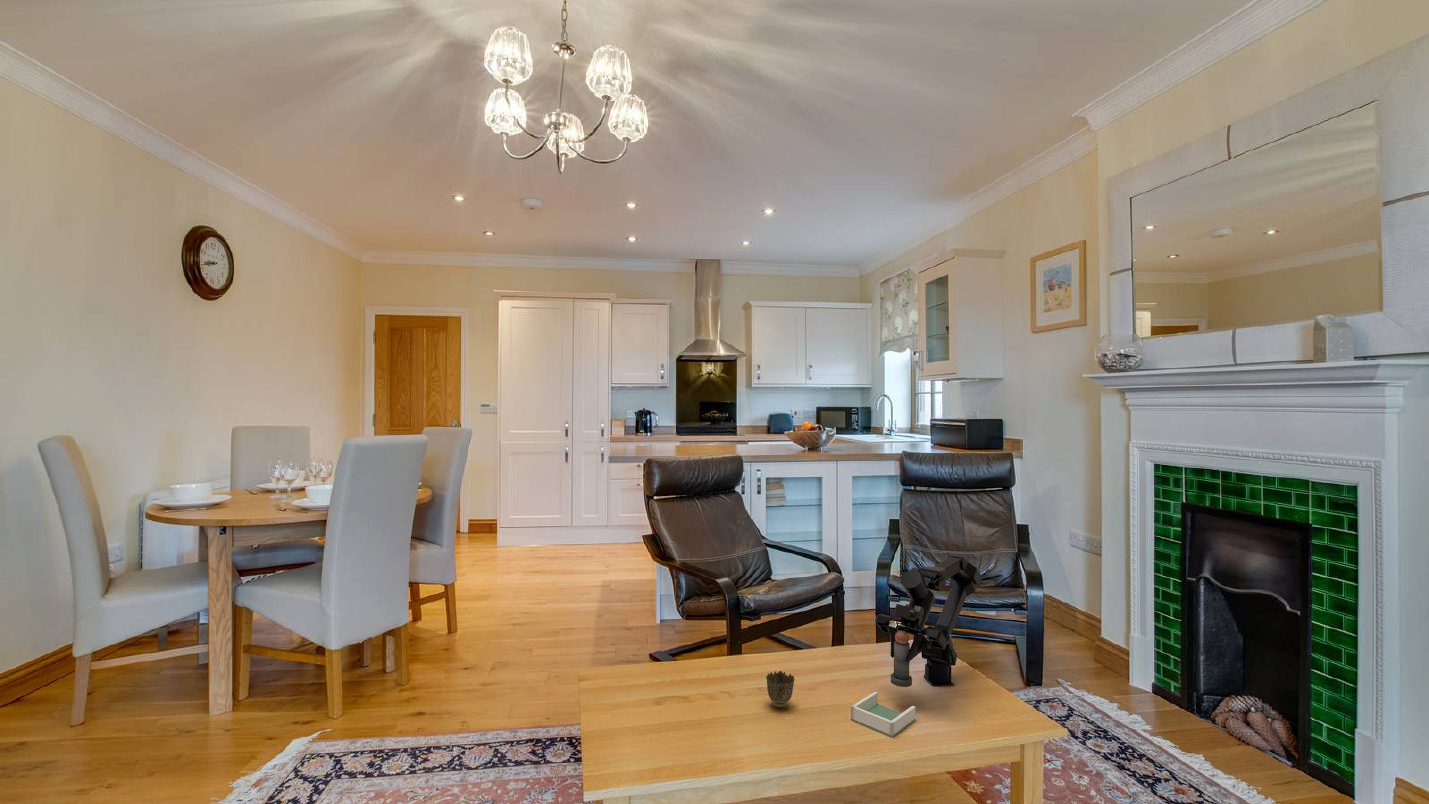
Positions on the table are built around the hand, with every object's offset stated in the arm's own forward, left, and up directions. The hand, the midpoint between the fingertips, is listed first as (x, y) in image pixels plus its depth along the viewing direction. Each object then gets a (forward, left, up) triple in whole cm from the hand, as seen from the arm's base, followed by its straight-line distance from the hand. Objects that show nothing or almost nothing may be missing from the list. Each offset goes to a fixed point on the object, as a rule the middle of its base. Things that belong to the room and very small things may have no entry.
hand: (899, 659), depth 166 cm
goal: (+6, +5, -13) cm, 16 cm away
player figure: (-1, -1, -7) cm, 7 cm away
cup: (+31, -4, -14) cm, 34 cm away
